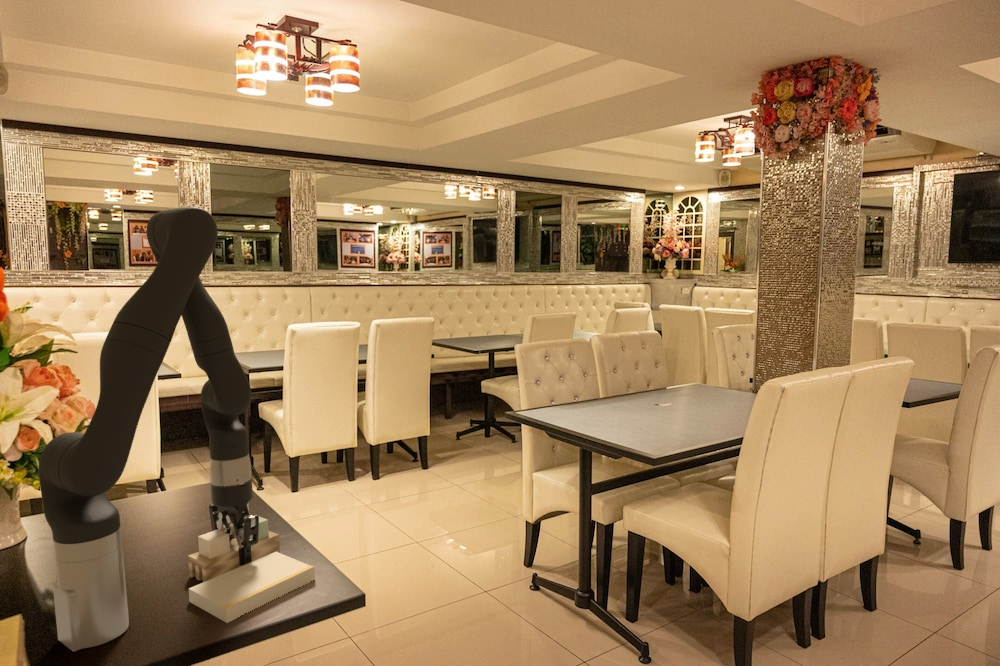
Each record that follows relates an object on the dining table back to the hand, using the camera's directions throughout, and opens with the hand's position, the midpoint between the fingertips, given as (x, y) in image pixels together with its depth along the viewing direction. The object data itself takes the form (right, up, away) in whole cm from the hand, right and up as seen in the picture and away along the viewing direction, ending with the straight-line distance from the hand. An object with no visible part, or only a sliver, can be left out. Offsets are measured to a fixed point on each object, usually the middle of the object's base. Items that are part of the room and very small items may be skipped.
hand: (236, 559), depth 131 cm
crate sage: (+2, +4, +3) cm, 5 cm away
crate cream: (-3, +3, -4) cm, 5 cm away
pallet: (0, -1, 0) cm, 1 cm away
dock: (+7, -2, -10) cm, 13 cm away
